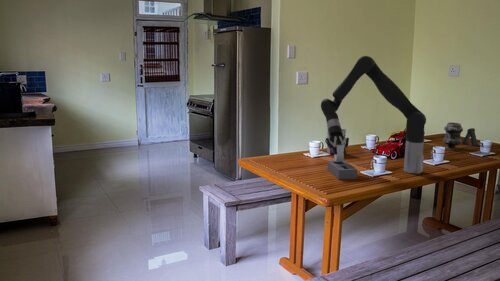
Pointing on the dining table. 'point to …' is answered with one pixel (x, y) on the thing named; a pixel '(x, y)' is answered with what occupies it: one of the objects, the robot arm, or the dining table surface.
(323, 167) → the dining table surface
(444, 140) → the dark grey tall lump
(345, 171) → the bore block
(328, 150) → the candy bar box
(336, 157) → the gray rectangular block
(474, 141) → the dark grey arch
